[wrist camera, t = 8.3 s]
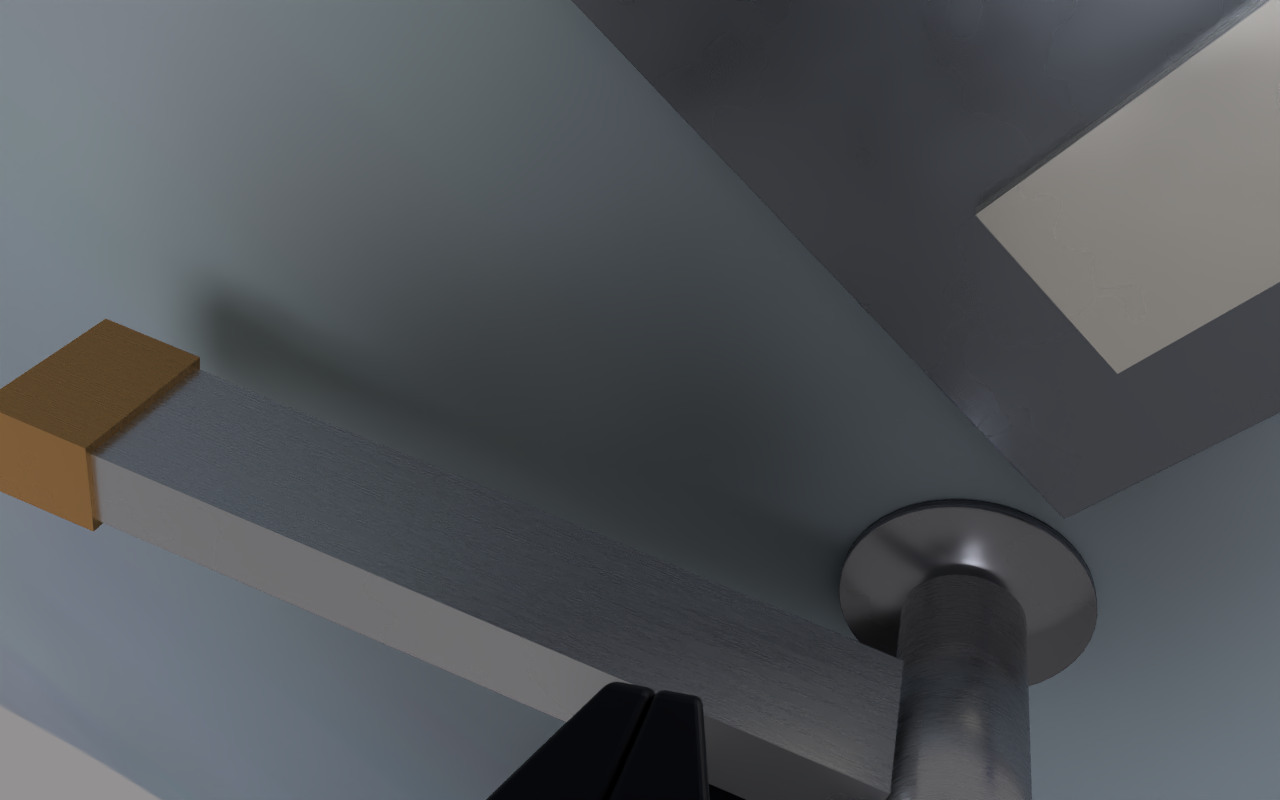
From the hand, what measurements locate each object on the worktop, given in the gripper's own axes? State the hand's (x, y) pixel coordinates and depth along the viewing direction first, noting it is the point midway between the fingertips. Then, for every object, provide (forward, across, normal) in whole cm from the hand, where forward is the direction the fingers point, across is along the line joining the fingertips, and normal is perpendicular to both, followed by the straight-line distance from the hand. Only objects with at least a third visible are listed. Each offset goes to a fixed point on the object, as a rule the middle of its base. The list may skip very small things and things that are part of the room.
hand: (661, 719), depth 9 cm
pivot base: (+11, -3, +8) cm, 14 cm away
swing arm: (+10, +5, +5) cm, 12 cm away
